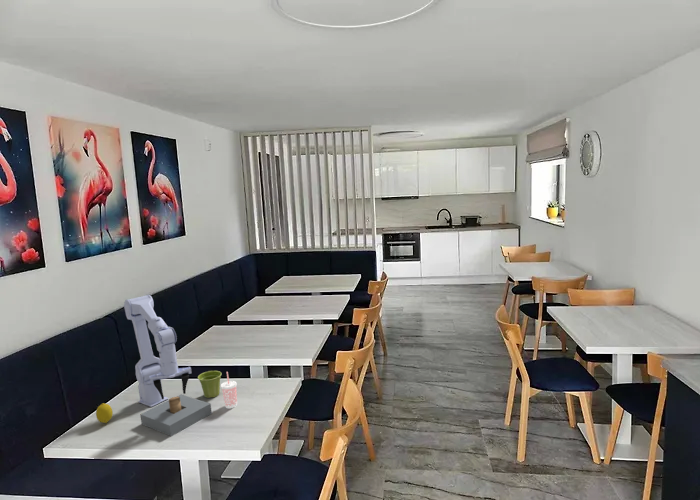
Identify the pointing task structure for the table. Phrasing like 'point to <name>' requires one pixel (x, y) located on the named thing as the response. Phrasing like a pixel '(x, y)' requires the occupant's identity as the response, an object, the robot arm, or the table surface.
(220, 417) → the table surface
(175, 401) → the peg
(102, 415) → the lemon
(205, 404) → the socket block
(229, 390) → the beverage cup
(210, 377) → the plant pot
